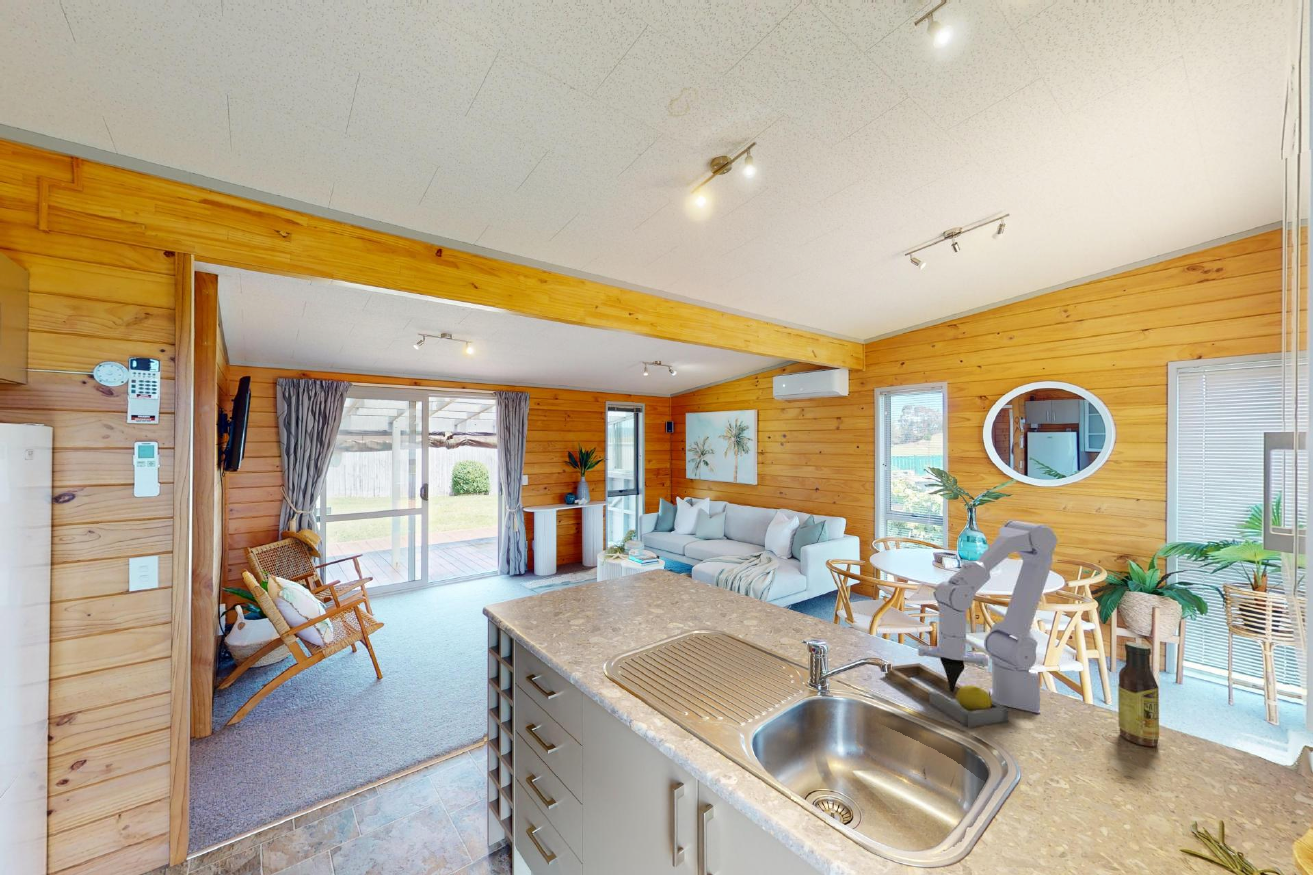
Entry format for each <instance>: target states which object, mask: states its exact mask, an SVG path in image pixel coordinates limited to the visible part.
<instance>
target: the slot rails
mask: <svg viewBox="0 0 1313 875" xmlns="http://www.w3.org/2000/svg"><path fill="white" fill-rule="evenodd" d="M884 676H885V678H887V679H889V680H890V681H892V682H893V683H895V684H897V685H898V686H900V687H901V688H903V689H904V690H906V691H908V692H909V693H911V694H913V695H914V696H915V697H917V698H919V699H920V700H921V701H924V702H926V703H927V704H929V692H930V691H931V690H930V689H929V688H927V687H925V686H924V685H922V684H921V683H918V682H917V681H915V680H913V679H912V678H910V677H915V676H920V677H921V678H923V679H924V680H926V681H928V682H930V683H932V684H933V685H935V686H937V687H939V688H941V689H942V690H944V691H946V692H947V693H949V694H951V695H953V696H954V697H956V695H957V692H958V690H959V689H960V688H961V687H963V686H962V685H960V684H958V682H956V685H955V689H954V692H950V690H949V685H948V680H947V676H946V677H945V676H944V675H942V674H940V673H938V672H937V671H934V670H932V669H930V668H928V667H927V666H926V665H923V664H922V663H909V664H898V665H893V666H892V670H891V671H890V672H888V673H885V672H884ZM929 705H930V704H929Z"/></svg>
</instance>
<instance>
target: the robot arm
mask: <svg viewBox="0 0 1313 875" xmlns="http://www.w3.org/2000/svg"><path fill="white" fill-rule="evenodd" d="M1058 541H1059V540H1058V538H1057V536H1056V533H1055V532H1054V530H1053V528H1052V527H1050V526H1049V525H1047V524H1039V523H1038V524H1037V523H1031V522H1024V521H1021V520H1020V521H1019V520H1017V519H1009V520H1008V521H1006V522H1004V524H1003V526H1002V527H1000V528H999V529H998V536H997V537H996V538H995V539H994V541H992V543H991V544H990V545H989V546H988V547H987V549H985V551H984V552H983V553H982V554H981V555H980V556H979V558H978V559H977V560H968V561H965V562H964V563H963V564H962V567H961V568H960V569H959V570H958V571H957V572H955V574H953V575H952V576H950V578H949V580H946V581H942V582H940V583H938V585H937V586H936V587H935V590H934V591H933V592H932V593H933V594H932V595H933V598H934V600H935V601H936V603H937V608H938V646H929V645H917V655H918V657H930V658H936V659H939V660H940V662H941V664H942V667H943V669H944V672H945V676H946V678H947V680H948V685H949V690H950V692H954V689H955V685H956V683H958V682H957V681H958V680H959V677H960V676H961V674H962V673H963V671H964V670H965V664H964V663H970V664H975V665H980V666H982V667H986V668H988V667H989V659H990V660H991V677H992V679H991V682H992V686H991V688H989V696H990V698H991V700H992V701H994V702H996V703H998V704H1000V705H1002V706H1004V707H1008V708H1013V709H1017V710H1022V711H1028V712H1032V713H1035V714H1036V713H1037V714H1041V705H1040V704H1041V703H1040V702H1041V694H1040V693H1041V692H1040V676H1039V671H1038V669H1037V668H1033V667H1034V665H1035V664H1036V660H1037V653H1036V652H1037V647H1038V641H1037V639H1036V638H1035V636H1034V635H1033V633H1032V632H1031V628H1032V625H1033V622H1034V618H1035V616H1036V612H1037V610H1038V607H1039V605H1040V601H1041V598H1042V594H1043V592H1044V589H1045V586H1046V583H1047V580H1048V576H1049V574H1050V570H1051V568H1052V564H1053V555H1054V552H1055V549H1056V546H1057V543H1058ZM1014 552H1016V553H1017V555H1019V557H1020V558H1021V560H1022V563H1021V564H1022V565H1021V567H1020V570H1019V574H1018V577H1017V580H1016V581H1015V582H1016V583H1015V586H1014V587H1013V588H1014V589H1013V592H1012V594H1011V597H1010V600H1009V603H1008V606H1007V609H1006V612H1005V615H1004V618H1003V619H1002V620H1001V621H998V622H996V623H994V624H992V627H991V629H990V631H989V632H988V633H987V634H986V635H985V638H984V642H983V644H984V645H983V646H984V650H985V651H986V652H987V653H988V654H989V658H988V656H987V655H985V654H981V653H975V652H971V651H967V610H968V609H970V608H971V607H972V605H973V602H974V598H975V596H976V594H977V592H978V591H979V590H980V589H981V588H982V587H983V586H985V585H986V583H987V582H988V581H990V579H991V572H992V570H994V568H996V567H997V566H998V565H999V564H1000V563H1002V562H1003V561H1004V560H1006V558H1008V557H1009V556H1010V555H1011V554H1013V553H1014ZM1014 637H1015V638H1014Z"/></svg>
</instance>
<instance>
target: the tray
mask: <svg viewBox="0 0 1313 875" xmlns="http://www.w3.org/2000/svg"><path fill="white" fill-rule="evenodd" d="M929 705H930V706H932V707H933V708H935V709H937V710H938V711H940V712H941V713H943V715H946V716H948V717H949V718H951V719H952V720H955V721H956V722H957V723H958V724H960V725H962V726H963V727H965V728H967V729H973V728H979V727H984V726H985V725H986V726H990V725H991V726H992V725H998V724H997V723H999V724H1004V723H1008V721H1009V716H1008V712H1009V711H1008V710H1009V709H1008V708H1007V706H1003V705H1000V704H998V703H996V702H994V701H992V704H991V707H990V708H989V709H983V710H976V711H968V710H966V709H965V708H963V707H962V706H961V705H960V703H959V702H958V700H957V699H956V698H951V699H949V698H948V697H946V696H944V695H942V694H941V693H939V692H938V691H936V690H930V692H929Z"/></svg>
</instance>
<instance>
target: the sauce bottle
mask: <svg viewBox="0 0 1313 875" xmlns="http://www.w3.org/2000/svg"><path fill="white" fill-rule="evenodd" d="M1151 649H1152V648H1151V647H1150V646H1148V645H1146V644H1143V643H1138V642H1131V641H1126V642H1124V650H1125V663H1126V664H1125V665H1123V667H1121V669H1120V670H1119V672H1118V684H1117V685H1118V687H1117V688H1118V689H1117V690H1118V696H1117V698H1118V701H1117V702H1118V705H1117V707H1118V714H1117V715H1118V716H1117V717H1118V727H1119V735H1121V737H1122V738H1124V739H1125V740H1127V741H1129V742H1131V743H1134V744H1136V745H1140V746H1144V747H1156V746H1157V745H1158V744H1159V739H1160V709H1159V708H1160V704H1159V702H1160V700H1159V695H1160V694H1159V688H1160V687H1159V686H1158V682H1157V681H1156V679H1155V677H1154V673H1153V671H1152V669H1151V663H1150V662H1151V661H1150V660H1151V659H1150V656H1151V655H1152V652H1151V651H1152V650H1151ZM1143 722H1145V723H1143Z"/></svg>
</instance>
